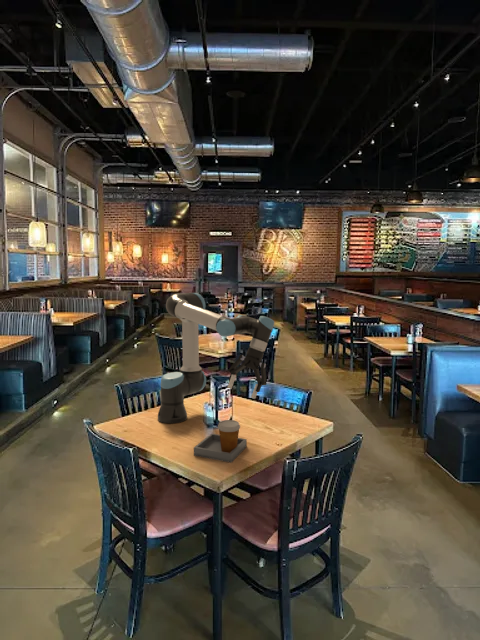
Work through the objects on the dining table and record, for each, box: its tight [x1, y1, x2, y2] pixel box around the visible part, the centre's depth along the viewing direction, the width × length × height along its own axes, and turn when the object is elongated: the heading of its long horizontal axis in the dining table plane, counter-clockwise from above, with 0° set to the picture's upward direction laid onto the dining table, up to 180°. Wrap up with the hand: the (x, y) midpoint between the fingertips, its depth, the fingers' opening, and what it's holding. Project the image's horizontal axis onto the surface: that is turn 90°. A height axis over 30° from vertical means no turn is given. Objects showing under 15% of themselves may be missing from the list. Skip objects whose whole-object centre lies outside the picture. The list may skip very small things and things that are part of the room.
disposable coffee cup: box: [217, 419, 241, 453], centre depth 184 cm, size 10×10×12 cm
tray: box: [193, 433, 248, 464], centre depth 186 cm, size 17×17×4 cm
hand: (240, 393), depth 199 cm, fingers open, 13 cm apart
